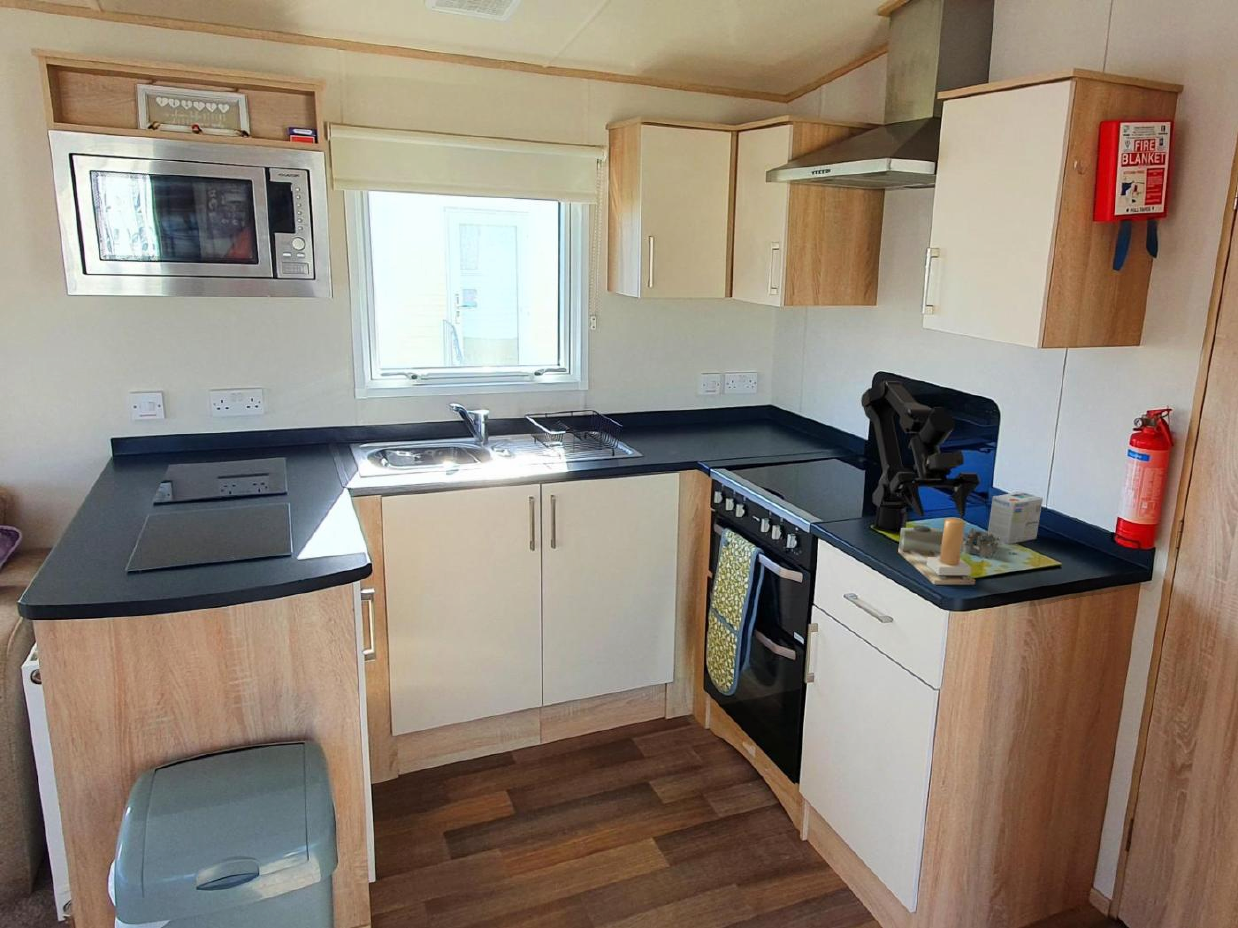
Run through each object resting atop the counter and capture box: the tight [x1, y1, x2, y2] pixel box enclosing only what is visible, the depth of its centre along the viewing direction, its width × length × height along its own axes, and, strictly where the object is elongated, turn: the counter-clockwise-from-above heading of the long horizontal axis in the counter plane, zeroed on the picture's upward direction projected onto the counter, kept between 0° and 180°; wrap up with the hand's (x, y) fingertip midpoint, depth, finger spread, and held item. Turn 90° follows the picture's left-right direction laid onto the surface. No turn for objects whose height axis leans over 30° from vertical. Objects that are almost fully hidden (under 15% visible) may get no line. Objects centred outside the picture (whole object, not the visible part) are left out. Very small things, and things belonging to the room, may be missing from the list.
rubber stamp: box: [927, 517, 972, 576], centre depth 184 cm, size 6×7×11 cm
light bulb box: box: [987, 491, 1043, 545], centre depth 213 cm, size 11×7×11 cm, turn 118°
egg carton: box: [961, 528, 1001, 558], centre depth 204 cm, size 11×8×4 cm
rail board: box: [897, 525, 976, 585], centre depth 192 cm, size 20×9×6 cm, turn 4°
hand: (942, 516), depth 189 cm, fingers open, 9 cm apart
